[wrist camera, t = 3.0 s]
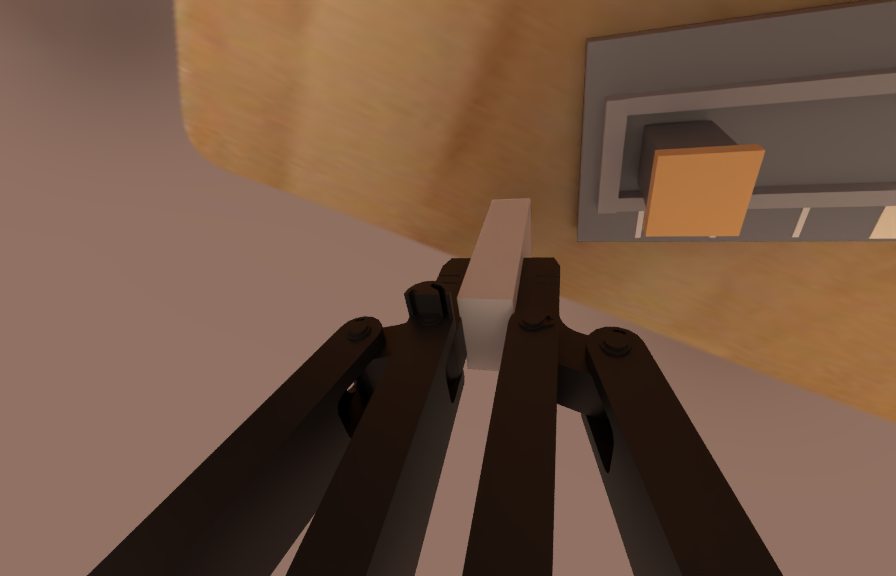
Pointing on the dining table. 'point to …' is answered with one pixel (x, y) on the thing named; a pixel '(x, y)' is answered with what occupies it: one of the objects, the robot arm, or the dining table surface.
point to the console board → (753, 119)
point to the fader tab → (695, 179)
